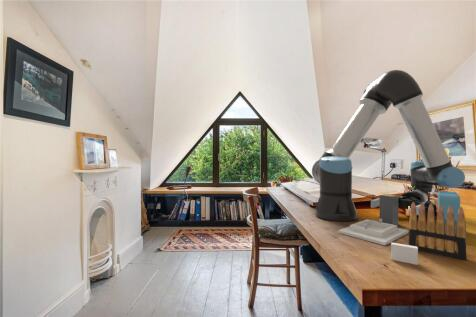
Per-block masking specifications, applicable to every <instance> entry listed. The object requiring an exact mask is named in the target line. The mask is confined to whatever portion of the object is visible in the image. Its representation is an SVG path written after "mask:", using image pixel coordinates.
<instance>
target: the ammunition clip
mask: <svg viewBox="0 0 476 317" xmlns="http://www.w3.org/2000/svg"><path fill="white" fill-rule="evenodd" d="M417 216H418V217H417ZM435 219H436V220H435ZM408 223H409V224H408V226H409V229H408V230H409V233H408V234H409V235H408V245H410V246H416V247H418V252H422V251H423V252H422V253H426V252H427V254H432V255H436V256H441V257H445V258H450V259H455V260H460V261H465V262H467V260H468V258H467V225H466V219H465V211H464V208H463V207H462V206H460V208H459V211H458V217H457V224H456V235H455V222H454V212H453V208H452V206H449V208H448V212H447V221H446V233H445V221H444V212H443V208H442V205H439V207H438V206H437V210H436V218H435V213H434V208H433V205H432V204H430V205H429V209H428V212H427V218H426V212H425V208H424V204H423V203H421V205H420V208H419V215H417V213H416V206H415V203H414V202H413V203H412V205H411V211H410V214H409V222H408Z"/></svg>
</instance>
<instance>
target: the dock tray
mask: <svg viewBox="0 0 476 317" xmlns="http://www.w3.org/2000/svg"><path fill="white" fill-rule="evenodd" d="M338 233H339V234H341V235H346V236H349V237H353V238H356V239H359V240H364V241H367V242H372V243H374V244H378V245H382V246H387V245H388V244H391V242H392V243H393V242H394V241H396V240H398V239H400V238H402V237H403V236H405V235H407V234H409V229H406V228H405V229H404V228H401V227H398V225H392V224H387V223H383V222H382V219H381V218H380V217H379V218H378V221H377V220H372V219H367V218H366V219H364V220H361V221H358V222H355V223H352V224H349V226H347V227H343V228H341V229H339V230H338Z"/></svg>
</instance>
